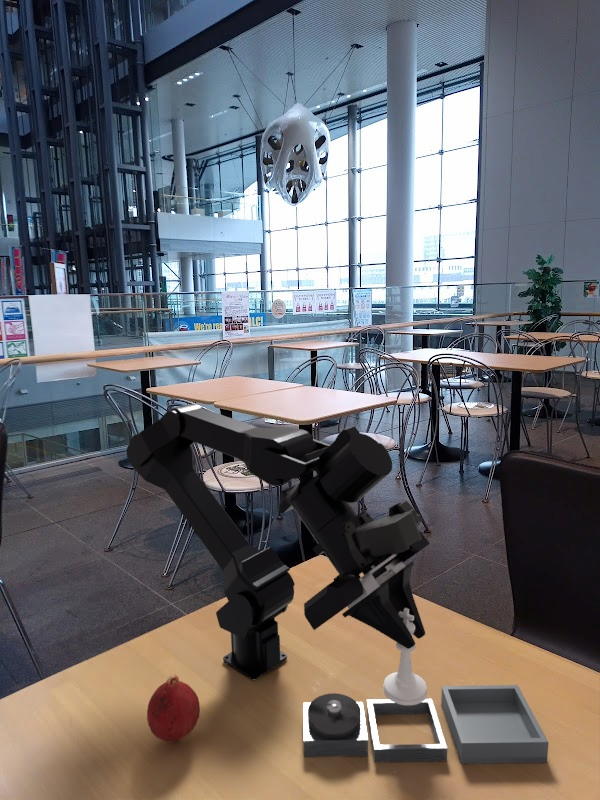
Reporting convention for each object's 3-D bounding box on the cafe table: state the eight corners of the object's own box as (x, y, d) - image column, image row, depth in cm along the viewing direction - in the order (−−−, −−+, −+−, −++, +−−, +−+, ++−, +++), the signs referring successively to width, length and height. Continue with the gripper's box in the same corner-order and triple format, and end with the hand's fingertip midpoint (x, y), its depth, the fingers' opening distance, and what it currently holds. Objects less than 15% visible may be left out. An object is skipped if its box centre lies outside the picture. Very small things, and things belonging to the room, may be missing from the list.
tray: (460, 763, 64) (461, 743, 63) (441, 704, 73) (441, 686, 72) (547, 762, 64) (548, 741, 63) (516, 703, 73) (517, 685, 72)
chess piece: (415, 712, 64) (416, 626, 62) (374, 694, 66) (375, 612, 65) (434, 687, 67) (437, 606, 66) (395, 671, 70) (397, 593, 68)
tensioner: (303, 763, 64) (303, 730, 64) (303, 712, 72) (303, 682, 71) (447, 761, 64) (447, 728, 63) (431, 710, 72) (432, 680, 71)
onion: (176, 767, 64) (171, 701, 63) (138, 746, 67) (133, 683, 66) (211, 733, 69) (208, 670, 67) (174, 715, 72) (170, 655, 70)
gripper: (325, 511, 58) (427, 655, 53) (416, 464, 72) (502, 575, 67) (267, 564, 64) (353, 697, 59) (360, 512, 78) (436, 615, 74)
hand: (417, 641), depth 65 cm, fingers closed on chess piece
